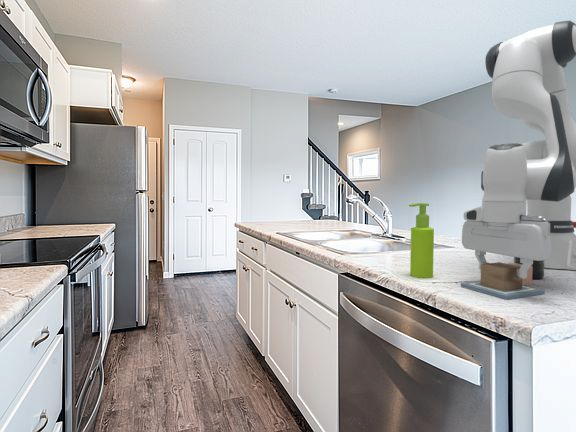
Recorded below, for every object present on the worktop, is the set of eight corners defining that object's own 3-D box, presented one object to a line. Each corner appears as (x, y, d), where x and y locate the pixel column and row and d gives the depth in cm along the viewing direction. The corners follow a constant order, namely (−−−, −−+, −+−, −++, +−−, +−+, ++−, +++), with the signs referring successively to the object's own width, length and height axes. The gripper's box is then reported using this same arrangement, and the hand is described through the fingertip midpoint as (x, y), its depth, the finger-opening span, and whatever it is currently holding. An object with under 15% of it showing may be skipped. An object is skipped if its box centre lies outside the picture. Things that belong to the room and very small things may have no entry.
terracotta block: (513, 279, 95) (513, 262, 95) (532, 284, 91) (532, 266, 90) (499, 281, 93) (500, 264, 93) (518, 286, 89) (518, 267, 88)
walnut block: (498, 282, 89) (499, 262, 88) (522, 288, 83) (523, 266, 83) (480, 284, 86) (480, 264, 86) (503, 291, 81) (504, 268, 80)
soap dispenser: (402, 274, 101) (403, 203, 100) (422, 272, 104) (423, 202, 103) (417, 279, 96) (418, 203, 95) (437, 277, 98) (439, 203, 97)
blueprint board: (496, 282, 92) (496, 278, 92) (544, 293, 81) (544, 289, 81) (460, 286, 88) (460, 282, 88) (506, 299, 77) (506, 295, 77)
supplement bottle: (531, 273, 102) (533, 231, 101) (550, 279, 95) (551, 233, 94) (507, 274, 101) (508, 231, 101) (524, 280, 94) (525, 234, 94)
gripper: (560, 216, 75) (557, 282, 76) (476, 212, 94) (475, 264, 95) (539, 217, 73) (537, 285, 74) (458, 212, 92) (456, 266, 93)
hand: (501, 273), depth 84 cm, fingers open, 8 cm apart
